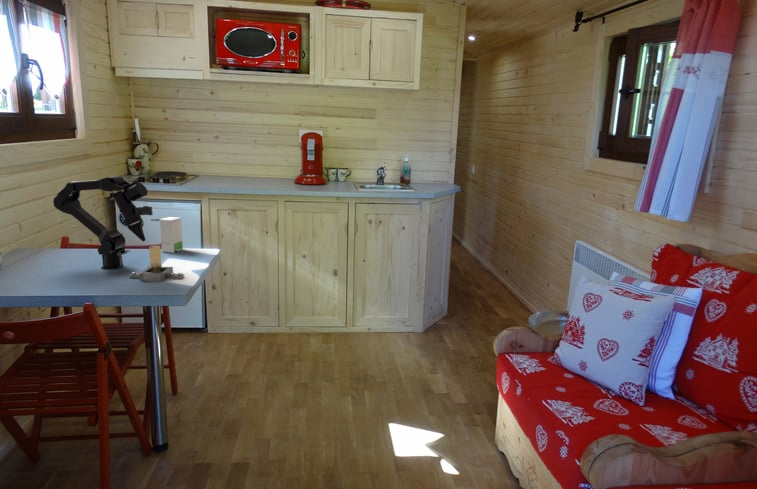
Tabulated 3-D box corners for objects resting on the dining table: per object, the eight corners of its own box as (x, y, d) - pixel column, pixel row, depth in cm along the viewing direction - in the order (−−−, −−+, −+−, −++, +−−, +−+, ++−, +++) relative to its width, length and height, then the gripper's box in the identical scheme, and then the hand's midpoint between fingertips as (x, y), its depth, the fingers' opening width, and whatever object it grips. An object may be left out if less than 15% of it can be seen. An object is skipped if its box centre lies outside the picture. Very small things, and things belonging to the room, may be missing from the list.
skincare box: (173, 253, 237) (171, 220, 233) (160, 252, 238) (158, 219, 235) (183, 249, 245) (181, 217, 241) (171, 247, 246) (169, 216, 243)
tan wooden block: (151, 279, 200) (148, 248, 197) (151, 276, 204) (149, 245, 201) (162, 278, 201) (160, 247, 198) (162, 275, 205) (160, 245, 202)
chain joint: (126, 280, 197) (125, 273, 197) (136, 273, 207) (135, 266, 206) (178, 281, 198) (178, 274, 198) (186, 274, 208) (185, 267, 207)
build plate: (115, 257, 229) (114, 247, 228) (102, 256, 231) (101, 246, 230) (135, 251, 241) (134, 241, 240) (122, 249, 243) (121, 239, 242)
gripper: (144, 194, 200) (163, 231, 202) (146, 200, 218) (163, 233, 220) (115, 206, 196) (134, 243, 198) (120, 210, 214) (137, 244, 216)
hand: (143, 240), depth 208 cm, fingers open, 9 cm apart
